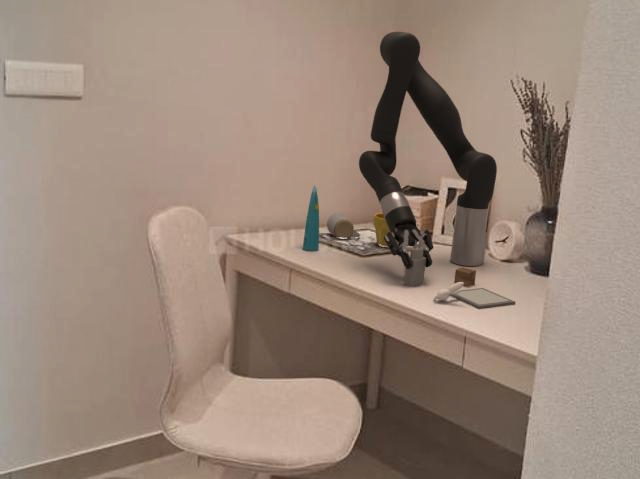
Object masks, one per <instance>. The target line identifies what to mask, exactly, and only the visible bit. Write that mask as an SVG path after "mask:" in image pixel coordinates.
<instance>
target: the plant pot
mask: <svg viewBox="0 0 640 479" xmlns="http://www.w3.org/2000/svg"><path fill="white" fill-rule="evenodd" d="M372 224H373V226H374V228H375V237H376V238H375V239H376V244H377V243H378V244H381V245H385V246H388V245H387V244H386V242H385V240H384V236H385V235H386V234H387V233H388V232H390V230H389V227H388V225H387V222H386V220H385V218H384V215H383V213H382V212H377V213H374V215H373V223H372ZM396 242H397V244H398V241H397V240H396Z"/></svg>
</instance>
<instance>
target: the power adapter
mask: <svg viewBox="0 0 640 479" xmlns="http://www.w3.org/2000/svg"><path fill="white" fill-rule="evenodd" d="M416 244H417V243H416V241H415V248H413V247H412V248H410V254H409V256H410V259H411V261H412V264H413V266H412V267H411V268H410V269H406V267H405V266H404V268H405V269H404V276H403V277H404V279H403V285H405V286H407V287H411V288H412V287H418V286H422V285H424V282H425V274H426V273H425V272H426V266H425V265H426V257H423V250H424V249H423V248H422V247H421V248H420V245H421V239H420V243H419V242H418V244H419V247H417V248H416Z"/></svg>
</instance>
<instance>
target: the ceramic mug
mask: <svg viewBox="0 0 640 479" xmlns="http://www.w3.org/2000/svg"><path fill="white" fill-rule="evenodd" d="M326 227H327V230H328V232H329V233H330V234H331V235H332V234H333V236H334V237H335V236H336V237H347V238H348V237H350V238H351V237H352V238H355V237H359V236H360V237H361V233H359V232H358V231H357V230H355V227H354V224H353V222H352V221H351V220H350V219H349V217H348V216H347V215H345V214H344V213H342V212H336V213H333V214H331V215H330V216H329V217H328V219H327V223H326ZM336 237H335V238H336ZM360 237H359V238H360ZM348 239H349V238H348Z"/></svg>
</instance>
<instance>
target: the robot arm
mask: <svg viewBox="0 0 640 479" xmlns="http://www.w3.org/2000/svg"><path fill="white" fill-rule="evenodd" d="M379 53H380V56H381V58H382V61H383V62H384V63H385V64H386V65H387V66H388V74H387V79H386V83H385V85H384V89H383V92H382V93H381V94H382V95H381V96H380V98H379V101H378V103H377V106H376V109H375V111H374V115H373V121H372V124H371V125H372V126H371V130H370V139H371V140H372V141H373V142H375V143H378V144H379V150H378V151H377V150H366V151H364V152H362V153H361V155H360V156H359V160H358V166H359V171H360V173H361V174H362V177H363V178H364V179H365V181H366V182H367V183H368V185H369V186H370V187H371V189H372V190H373V191H374V192H375V196H376V197H377V200H378V203H379V205H380V209H381V213H383V215H384V218H385V220H386V222H387V225H388V227H389V230H390V232H388V233H387V234H386V235H385V236H384V240H385V242H386V244H387V245H388V247H389V248H388V249H389V250H390V252H391V254H392V256H398V257H400V259H401V261H402V264H403V266H404V268H405V267H406V269H410V268H411V267H412V266H413V264H412V261H411V259H410V254H409V253H408V247H412V248H415V241H416V248H417V247H419V243H420V239H421V245H420V248H423V249H424V250H423V257H426V265H425V268H430V267H431V266H432V265H433V259H432V256H431V254H430V252H431V251H432V250H433V249H434V245H433V240H432V237H431V233H430V230H428V229H425V230H424V231H423V230H421V229H419V228H418V226H417V219H416V217H415V215H414V213H413V212H414V211H413V210H412V208H411V205H410V203H409V201H408V199H407V198H406V195H405V193H404V192H403V189H402V187H401V184H400V182H399V180H398V179H397V178H396V177H395V176H392V174H393V173H394V172H395V170H396V166H397V143H396V137H397V133H398V129H399V123H400V119H401V114H402V110H403V105H404V101H405V98H406V95H407V94H408V95H409V97H410V99H411V100H412V102H413V103H414V106H416V108H417V110H418V112H419V113H420V115H421V116H422V118H423V119H424V122H425V123H426V124H427V126H428V127H429V129H430V130H431V131H432V133H433V134H434V136H435V137H436V139H437V141H439V143H440V145H441V146H442V147H443V149H444V150H445V152H446V154H447V156H448V157H449V159H450V162H451V163H452V166H453V167H454V169H455V171H456V173H457V175H458V176H459V177H460V178H461V179H462V180H463V181H465V182H466V185H465V190H464V192H463V193H461V194H459V195H458V196H457V200H456V208H455V216H454V224H453V225H454V226H453V234H452V241H451V250H450V262H451V263H453V264H456V265H460V266H463V267H464V266H467V267H478V266H481V265H484V264H485V258H486V256H485V255H486V250H487V242H488V240H487V239H488V232H486V229H487V222H488V215H489V214H488V212H489V205H490V203H491V202H492V198H493V195H494V191H495V184H496V179H497V173H498V172H497V170H498V166H497V162H496V160H495V157H493V156H492V155H490V154H488V153H484V152H480V151H477V149H476V148H475V147H474V146H473V145H472V144H471V143H470V141H469V139H468V138H467V136H466V135H465V133H464V130H463V125H462V124H463V123H462V120H461V115H460V112H459V110H458V108H457V106H456V105H455V104H454V101H453V100H452V98H451V97H450V95H449V93H447V91H446V89H444V88H443V87H442V85H440V84H439V82H438V81H436V80H435V78H434V77H432V76H431V75H430V74H429V73H428V71H427V70H425V68H424V66H423V65H422V64H421V61H420V60H419V58H420V54H421V43H420V41H419V39H418V38H417V36H416V35H414V34H412V33H411V32H405V31H392V32H389V33H387V34H385V35H384V36H383V38H382V39H381V41H380V44H379ZM396 240H397V241H398V244H397V242H396ZM417 243H418V244H417Z"/></svg>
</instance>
